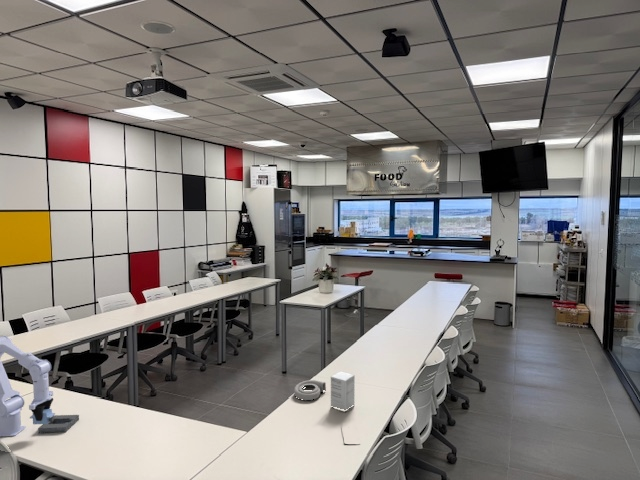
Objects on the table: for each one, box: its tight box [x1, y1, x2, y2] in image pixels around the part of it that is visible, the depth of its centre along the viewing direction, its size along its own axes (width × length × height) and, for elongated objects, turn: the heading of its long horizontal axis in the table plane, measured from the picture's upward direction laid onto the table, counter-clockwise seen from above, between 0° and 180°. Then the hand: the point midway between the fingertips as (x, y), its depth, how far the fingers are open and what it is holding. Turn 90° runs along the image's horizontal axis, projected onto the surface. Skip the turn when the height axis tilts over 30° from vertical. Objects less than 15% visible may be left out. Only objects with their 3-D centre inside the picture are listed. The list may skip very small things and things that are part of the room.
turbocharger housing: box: [293, 379, 327, 401], centre depth 231 cm, size 17×6×15 cm
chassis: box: [37, 414, 80, 434], centre depth 196 cm, size 12×12×2 cm
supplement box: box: [330, 371, 355, 410], centre depth 216 cm, size 10×9×17 cm
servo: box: [29, 408, 56, 425], centre depth 187 cm, size 9×4×5 cm, turn 93°
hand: (42, 418), depth 187 cm, fingers closed on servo, 4 cm apart
